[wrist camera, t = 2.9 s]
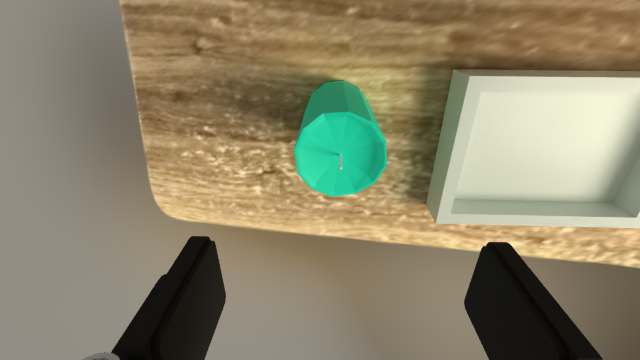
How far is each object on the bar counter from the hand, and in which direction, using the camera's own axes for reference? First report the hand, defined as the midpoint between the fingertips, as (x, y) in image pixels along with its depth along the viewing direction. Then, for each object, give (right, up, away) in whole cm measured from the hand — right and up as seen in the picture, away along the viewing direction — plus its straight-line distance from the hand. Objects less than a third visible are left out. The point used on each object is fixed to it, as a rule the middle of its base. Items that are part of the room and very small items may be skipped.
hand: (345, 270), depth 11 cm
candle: (+1, +10, +18) cm, 20 cm away
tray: (+21, +6, +19) cm, 29 cm away
